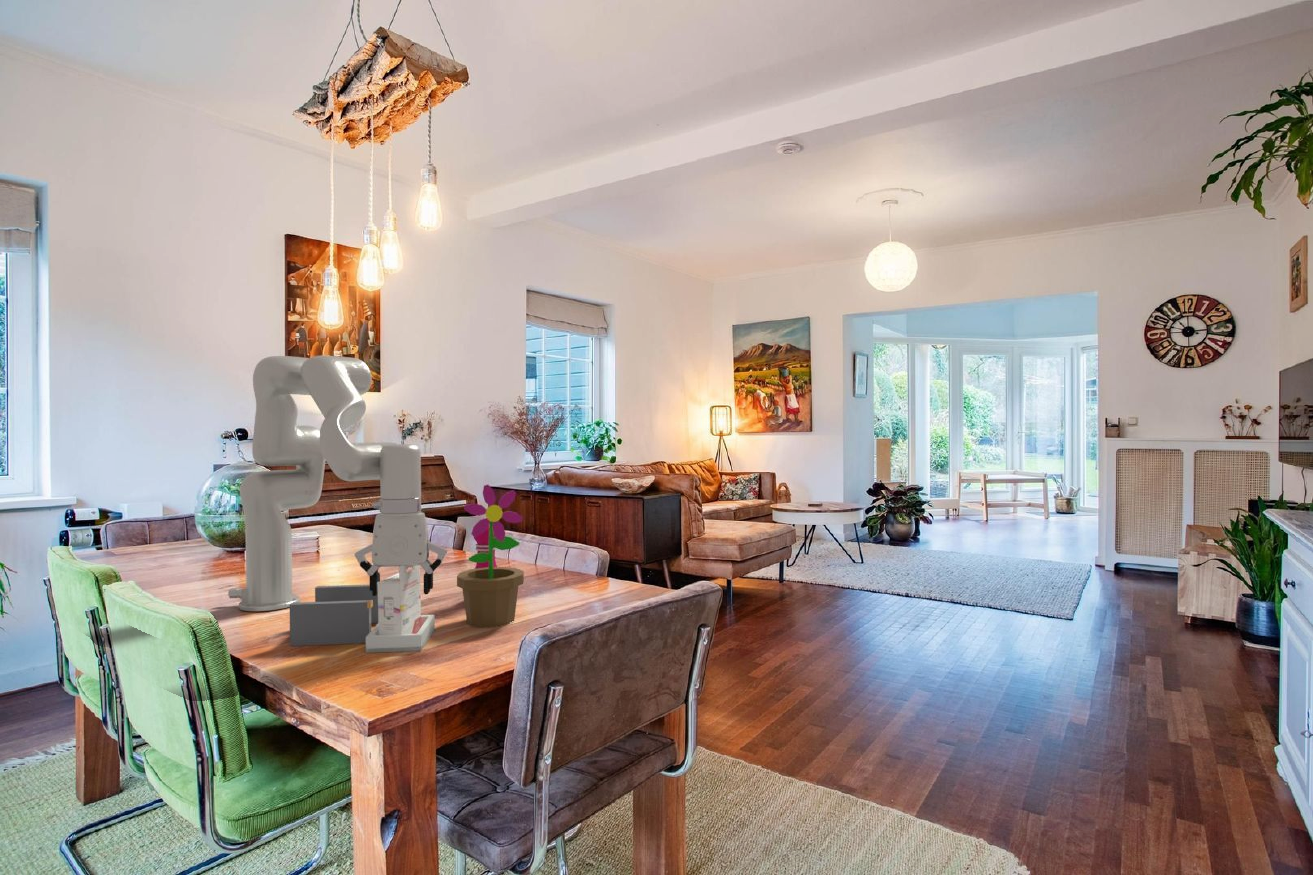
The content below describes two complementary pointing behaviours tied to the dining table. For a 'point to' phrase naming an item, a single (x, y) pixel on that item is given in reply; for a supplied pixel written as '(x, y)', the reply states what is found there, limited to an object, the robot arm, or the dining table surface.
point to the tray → (401, 638)
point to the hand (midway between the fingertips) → (401, 593)
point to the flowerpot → (491, 567)
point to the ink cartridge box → (400, 602)
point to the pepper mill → (484, 547)
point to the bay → (334, 616)
